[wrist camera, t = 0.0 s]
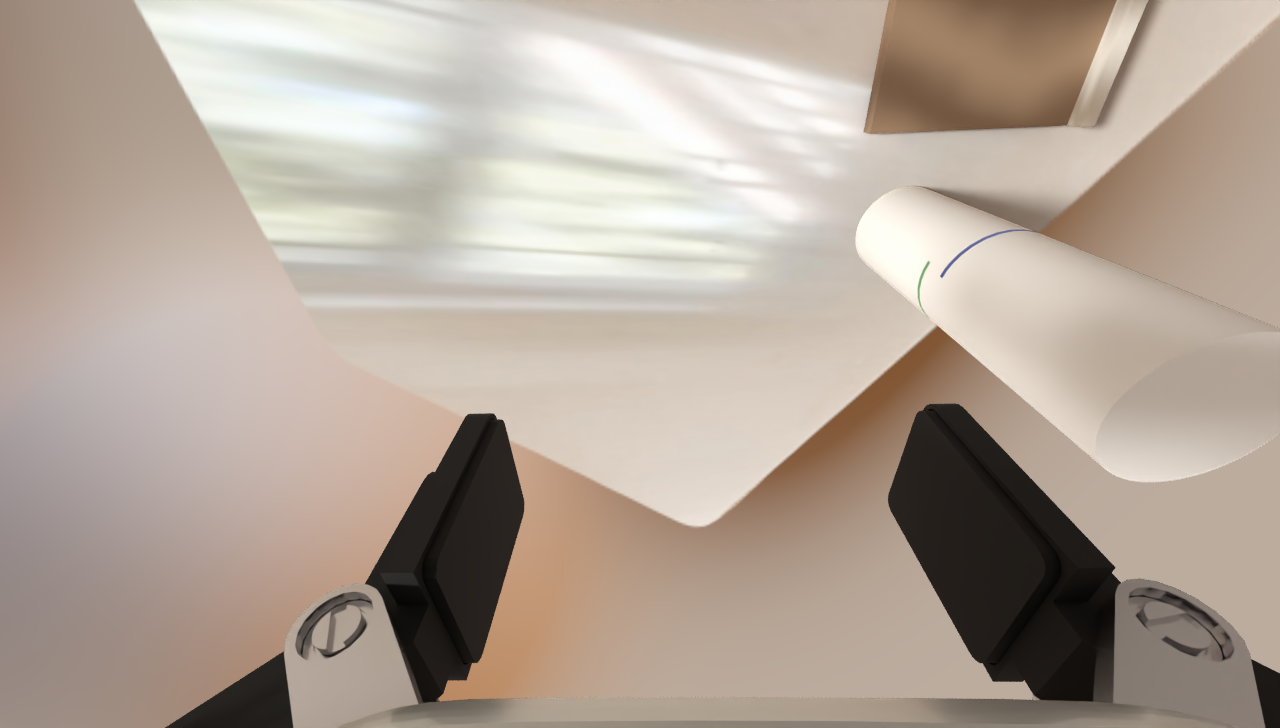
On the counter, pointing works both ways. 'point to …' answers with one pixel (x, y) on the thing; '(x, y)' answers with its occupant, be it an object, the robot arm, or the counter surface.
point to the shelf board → (997, 63)
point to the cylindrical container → (1084, 337)
